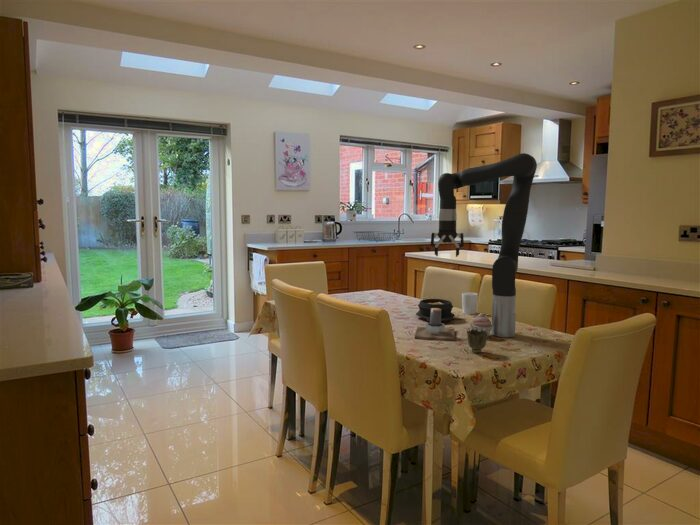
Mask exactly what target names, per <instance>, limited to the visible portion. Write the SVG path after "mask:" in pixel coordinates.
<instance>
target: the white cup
mask: <svg viewBox="0 0 700 525" xmlns="http://www.w3.org/2000/svg"><path fill="white" fill-rule="evenodd" d="M478 295H479V294H478V292H477V293H476V292H468V291H466V292H461V306H462V310H461V311H462V314H463V315H464V314H465V315H476V314H477V308H478V299H479V298H478Z"/></svg>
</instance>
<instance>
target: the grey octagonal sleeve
mask: <svg viewBox="0 0 700 525" xmlns="http://www.w3.org/2000/svg"><path fill="white" fill-rule="evenodd" d="M425 327H426V333H428V334H431V335H441V334H444V328H446V327H445V323H443V322H441V325H440V326H430V322H426V324H425Z"/></svg>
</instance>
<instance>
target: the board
mask: <svg viewBox="0 0 700 525" xmlns="http://www.w3.org/2000/svg"><path fill="white" fill-rule="evenodd" d="M414 339H416V340H431V341H432V340H433V341H446V342H447V341H449V342H455V340H456V339H455V328H446V327H444V334H441V335H431V334H428V333H426V326H425V327H424V326H417V327H416V330H415V334H414Z"/></svg>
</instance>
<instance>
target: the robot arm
mask: <svg viewBox="0 0 700 525" xmlns="http://www.w3.org/2000/svg"><path fill="white" fill-rule="evenodd" d="M537 166H538V164H537V160H536V159H535V157H534V156H532V155H531V154H529V153H526V152H525V153H524V152H523V153H518V154H517V155H513V156H512V157H508V158H506V159H504V160H500V161H498V162H494V163H489V164H485V165H480V166H474V167H471V168H466V169H463V170H462V171H459V172H454V173H449V172H445V173H442V174H441V175H440V176H439V177H438V182H437V187H438V193H439V214H438V232H432V233H431V236H430V246H431V247H433V248H434V255H435V257H438V256H439V246H440V244H441V243H445V244H446V243H449V244H450V243H453V244H454V245H455V247H456V248H455V257H456V258H457V257H459V256H460V248H463V247H464V246H465V244H464V243H465V242H464V239H465V238H464V233H463V232H460V233H457V198H456V196H455V190H457V189H460V188H461V189H462V188H463V187H466V186H474V185H478V184H479V185H480V184H483V183H486V182H490V181H492V180H496V179H500V178H504V177H513V180H512V186H511V191H510V192H509V196H508V198H507V200H506V202H505V206H504V208H503V215H502V221H501V246H500V251H499V253H498V258H497V259H496V260H494V262H493V263H492V264H493V265H492V269H491V274H492V275H491V289H492V301H491V302H492V303H491V304H492V306H491V307H492V308H491V325H492V326H493V327H492V329H491V331H490V334H491V335H492V336H495V337H499V338H512V337H513V338H515V337H516V320H517V319H516V317H517V315H516V297H517V296H516V294H517V290H516V273H517V272H518V268H519V254H520V247H521V246H520V245H521V242H522V238H523V235H524V232H525V227H526V223H527V218H528V213H529V211H528V210H529V203H530V197H531V196H530V195H531V188H532V184H533V181H534V179H535V174H536V172H537V168H538V167H537ZM437 237H438V238H439V240H438V241H437V242H436V244H435V238H437ZM457 237H458V239H460V244H459V243H458V242H457V240H456V238H457Z"/></svg>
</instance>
